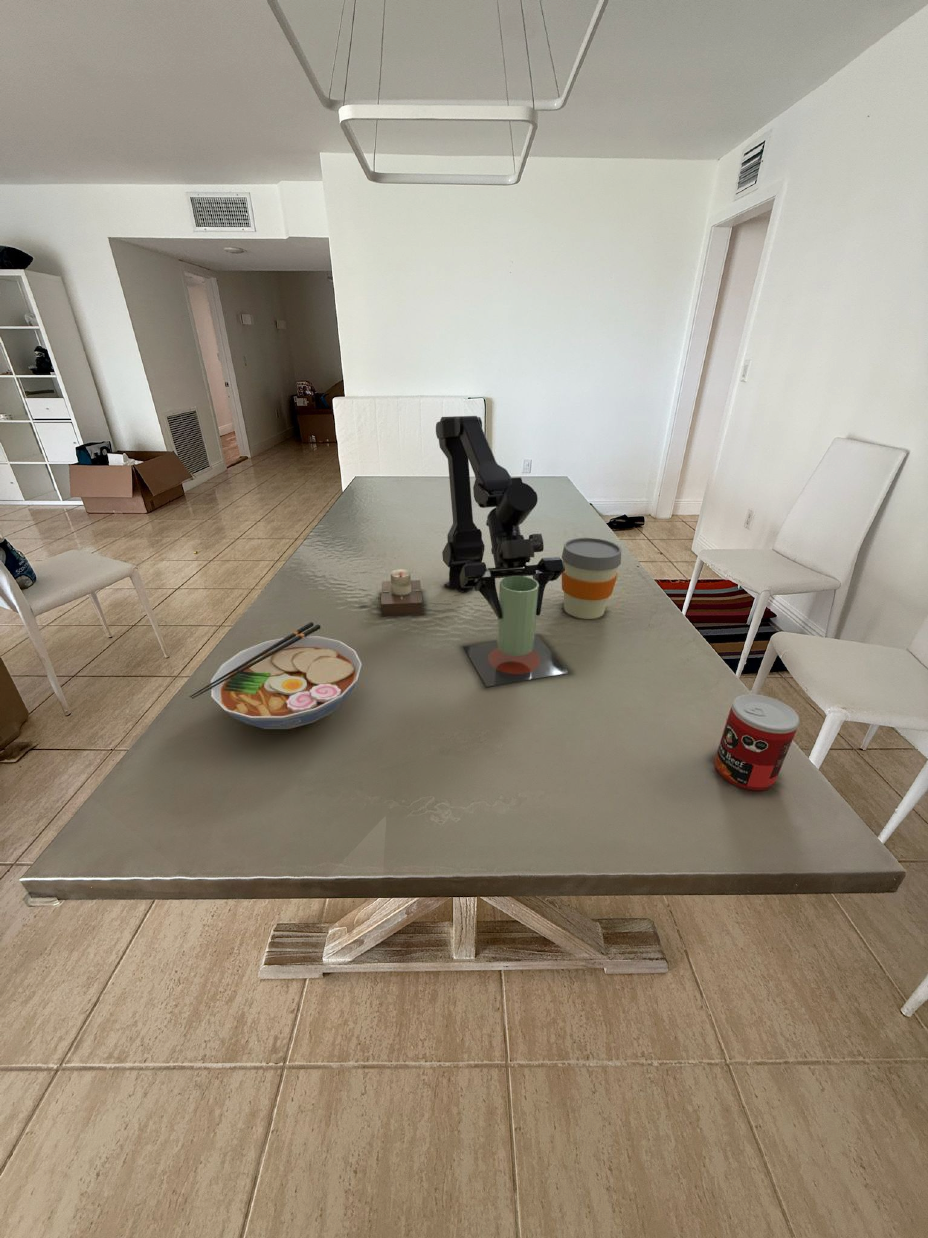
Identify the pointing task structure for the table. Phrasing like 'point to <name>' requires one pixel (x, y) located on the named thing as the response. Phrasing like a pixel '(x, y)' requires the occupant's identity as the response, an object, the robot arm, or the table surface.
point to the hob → (513, 663)
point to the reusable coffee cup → (589, 575)
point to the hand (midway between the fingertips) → (519, 616)
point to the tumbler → (517, 615)
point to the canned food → (755, 741)
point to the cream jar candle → (400, 582)
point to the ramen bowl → (286, 680)
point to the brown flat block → (401, 600)
